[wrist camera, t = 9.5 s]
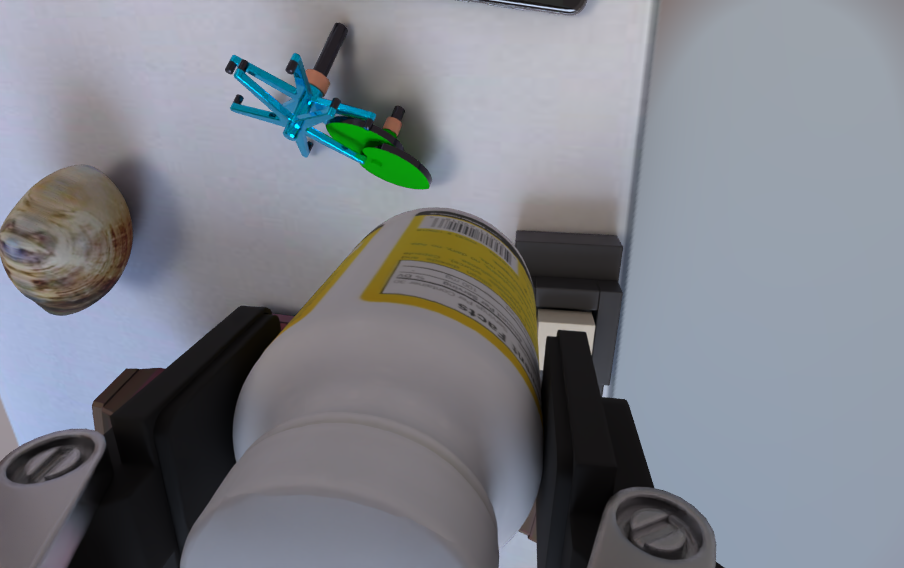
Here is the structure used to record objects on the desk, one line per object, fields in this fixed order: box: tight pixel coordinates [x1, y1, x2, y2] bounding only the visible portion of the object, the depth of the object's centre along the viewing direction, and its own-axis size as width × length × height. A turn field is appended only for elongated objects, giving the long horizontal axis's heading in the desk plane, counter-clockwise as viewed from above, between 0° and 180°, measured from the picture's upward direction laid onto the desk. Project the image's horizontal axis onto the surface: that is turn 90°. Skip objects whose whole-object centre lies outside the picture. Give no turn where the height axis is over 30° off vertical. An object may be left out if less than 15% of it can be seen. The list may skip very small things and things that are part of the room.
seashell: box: [0, 165, 133, 316], centre depth 33 cm, size 10×6×8 cm, turn 160°
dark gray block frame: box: [515, 231, 623, 397], centre depth 33 cm, size 10×6×4 cm, turn 179°
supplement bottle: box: [180, 208, 544, 568], centre depth 11 cm, size 5×5×10 cm
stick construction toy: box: [225, 23, 432, 189], centre depth 30 cm, size 12×7×8 cm
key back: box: [537, 309, 595, 370], centre depth 30 cm, size 3×3×2 cm
